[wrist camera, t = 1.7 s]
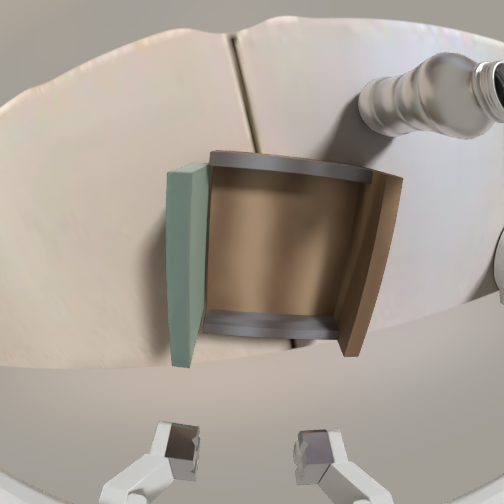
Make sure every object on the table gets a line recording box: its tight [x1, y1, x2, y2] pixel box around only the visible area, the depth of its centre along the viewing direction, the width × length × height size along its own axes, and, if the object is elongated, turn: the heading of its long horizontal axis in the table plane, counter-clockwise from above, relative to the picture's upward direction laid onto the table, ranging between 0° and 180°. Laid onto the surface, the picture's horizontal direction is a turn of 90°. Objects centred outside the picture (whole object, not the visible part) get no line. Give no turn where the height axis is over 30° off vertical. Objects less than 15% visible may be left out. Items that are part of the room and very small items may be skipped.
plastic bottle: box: [358, 52, 504, 140], centre depth 19 cm, size 6×7×20 cm
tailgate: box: [166, 162, 210, 368], centre depth 26 cm, size 2×16×10 cm, turn 175°
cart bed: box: [203, 150, 403, 357], centre depth 29 cm, size 16×18×9 cm
